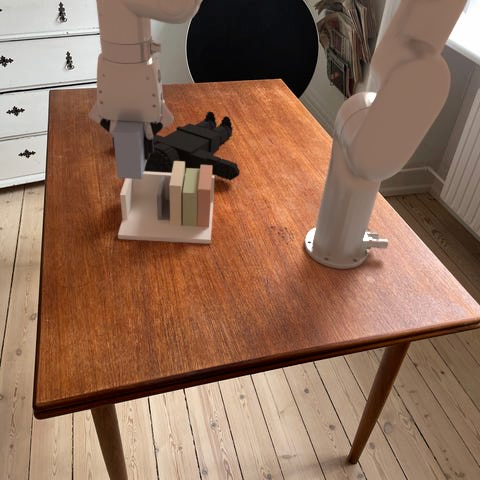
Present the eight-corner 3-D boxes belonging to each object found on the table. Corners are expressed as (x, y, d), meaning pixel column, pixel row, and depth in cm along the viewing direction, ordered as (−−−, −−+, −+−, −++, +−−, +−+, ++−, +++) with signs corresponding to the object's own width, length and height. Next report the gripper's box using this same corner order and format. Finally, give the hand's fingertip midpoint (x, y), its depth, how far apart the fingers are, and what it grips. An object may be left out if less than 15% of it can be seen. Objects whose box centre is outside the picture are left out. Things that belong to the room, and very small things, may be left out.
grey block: (150, 147, 92) (148, 104, 87) (141, 179, 84) (138, 133, 78) (128, 146, 92) (125, 102, 86) (117, 177, 83) (113, 131, 78)
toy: (275, 131, 125) (217, 175, 103) (271, 159, 130) (214, 207, 107) (167, 98, 136) (92, 131, 113) (166, 124, 140) (94, 161, 118)
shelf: (213, 202, 109) (215, 160, 102) (210, 243, 98) (212, 199, 91) (130, 198, 108) (126, 155, 101) (118, 238, 97) (113, 194, 90)
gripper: (184, 44, 79) (184, 147, 90) (77, 37, 78) (90, 142, 89) (179, 61, 73) (180, 169, 84) (64, 53, 72) (80, 163, 84)
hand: (134, 154), depth 87 cm, fingers closed on grey block, 4 cm apart
